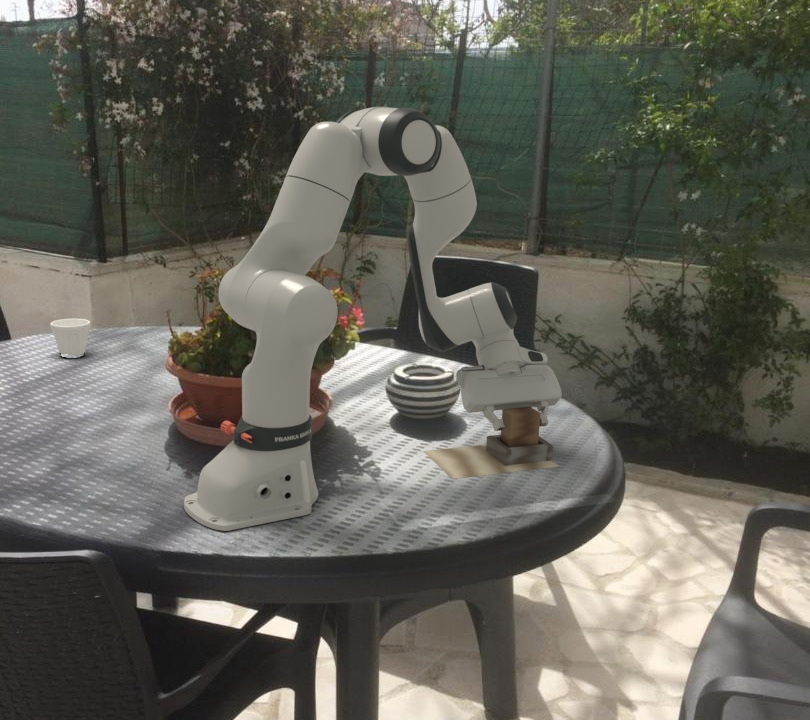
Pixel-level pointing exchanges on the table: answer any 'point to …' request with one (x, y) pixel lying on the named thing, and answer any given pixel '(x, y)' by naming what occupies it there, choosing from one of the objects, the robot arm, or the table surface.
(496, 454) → the floor panel
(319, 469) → the table surface
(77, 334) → the cup
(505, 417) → the wooden block
